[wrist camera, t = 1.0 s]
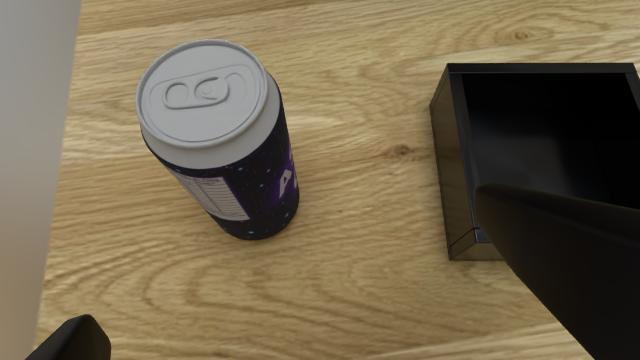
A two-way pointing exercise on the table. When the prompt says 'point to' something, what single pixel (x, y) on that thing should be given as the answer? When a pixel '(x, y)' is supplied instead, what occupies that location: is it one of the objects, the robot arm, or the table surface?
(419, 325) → the table surface
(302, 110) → the table surface
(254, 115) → the beverage can
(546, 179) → the black open tray
